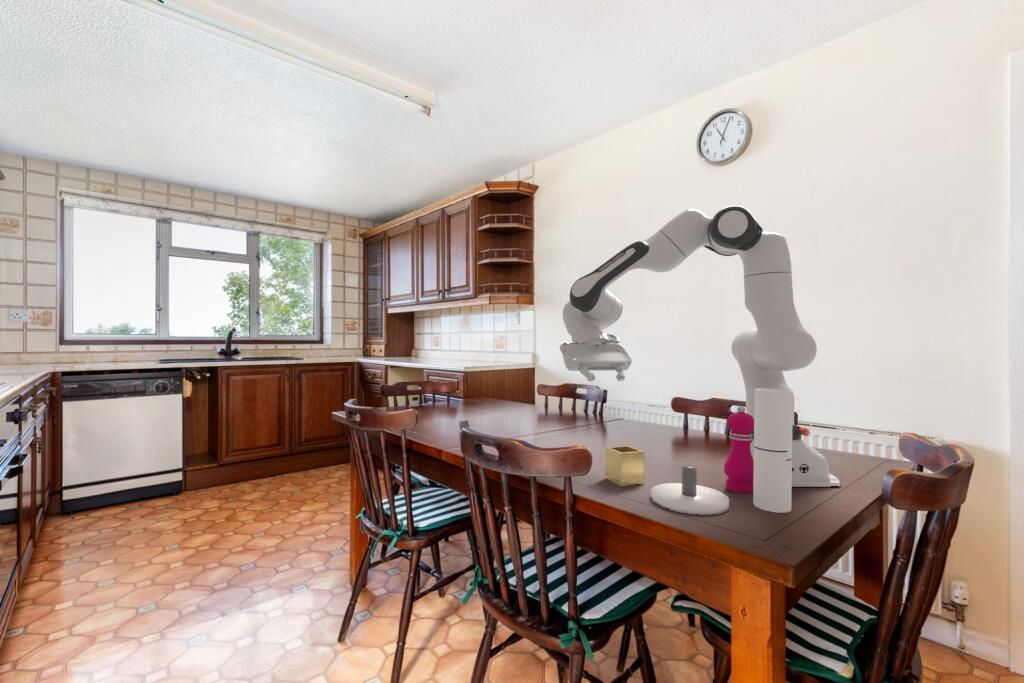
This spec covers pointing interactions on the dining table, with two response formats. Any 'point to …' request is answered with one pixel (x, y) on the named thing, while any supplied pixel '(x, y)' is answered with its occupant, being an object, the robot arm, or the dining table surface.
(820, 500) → the dining table surface
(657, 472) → the dining table surface
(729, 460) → the pepper mill
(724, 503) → the plate
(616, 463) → the yellow square cup
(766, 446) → the cylindrical container
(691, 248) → the robot arm
